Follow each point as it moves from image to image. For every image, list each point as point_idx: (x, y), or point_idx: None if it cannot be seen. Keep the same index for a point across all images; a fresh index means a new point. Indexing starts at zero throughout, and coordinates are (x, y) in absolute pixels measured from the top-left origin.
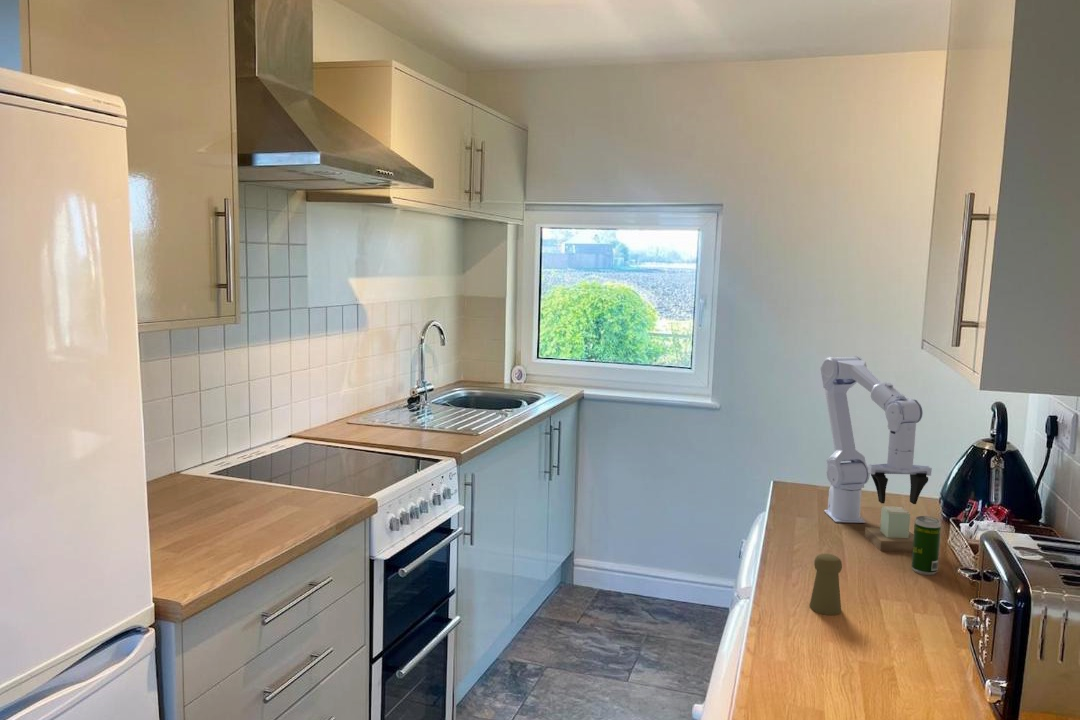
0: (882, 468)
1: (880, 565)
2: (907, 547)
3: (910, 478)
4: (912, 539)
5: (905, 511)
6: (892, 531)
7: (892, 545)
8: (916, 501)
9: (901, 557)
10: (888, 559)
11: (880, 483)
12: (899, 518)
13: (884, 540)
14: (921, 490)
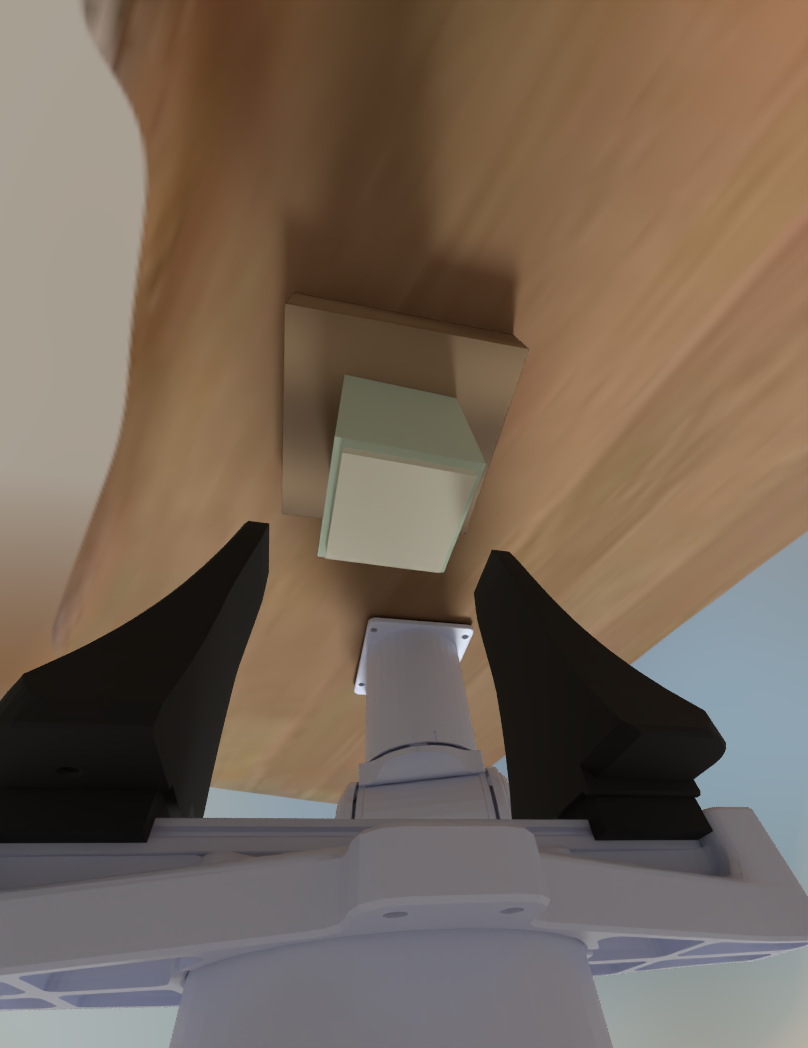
0: (715, 915)
1: (701, 75)
2: (378, 313)
3: (211, 773)
4: (330, 353)
5: (355, 472)
6: (437, 406)
7: (462, 331)
8: (241, 531)
9: (469, 214)
10: (568, 190)
11: (645, 680)
12: (409, 434)
13: (503, 356)
14: (166, 596)
